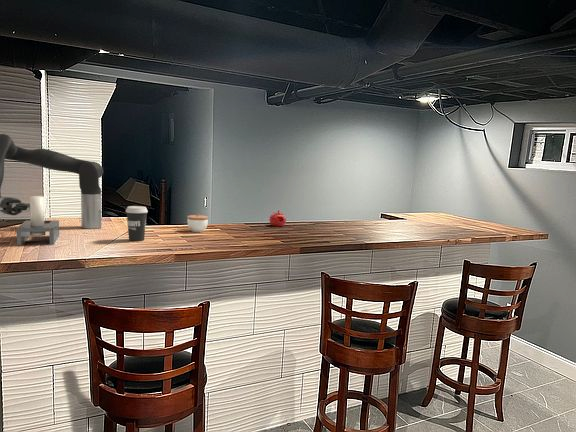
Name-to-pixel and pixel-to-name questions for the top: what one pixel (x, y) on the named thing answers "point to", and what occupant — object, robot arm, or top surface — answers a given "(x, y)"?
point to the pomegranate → (277, 219)
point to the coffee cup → (136, 222)
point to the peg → (37, 213)
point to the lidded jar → (197, 222)
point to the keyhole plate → (49, 226)
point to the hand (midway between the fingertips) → (31, 209)
